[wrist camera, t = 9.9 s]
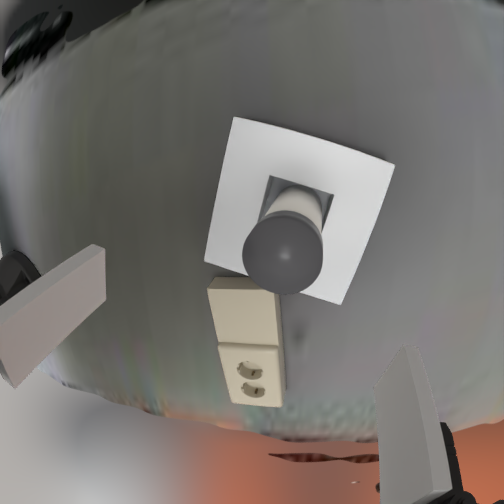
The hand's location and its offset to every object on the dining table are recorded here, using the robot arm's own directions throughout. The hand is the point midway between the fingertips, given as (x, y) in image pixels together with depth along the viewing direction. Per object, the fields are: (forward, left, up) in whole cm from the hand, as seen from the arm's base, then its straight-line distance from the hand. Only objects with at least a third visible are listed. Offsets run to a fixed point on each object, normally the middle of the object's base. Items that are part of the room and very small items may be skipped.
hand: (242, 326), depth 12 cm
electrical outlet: (0, -18, -20) cm, 27 cm away
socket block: (0, 0, -19) cm, 19 cm away
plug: (+1, 0, -19) cm, 19 cm away
